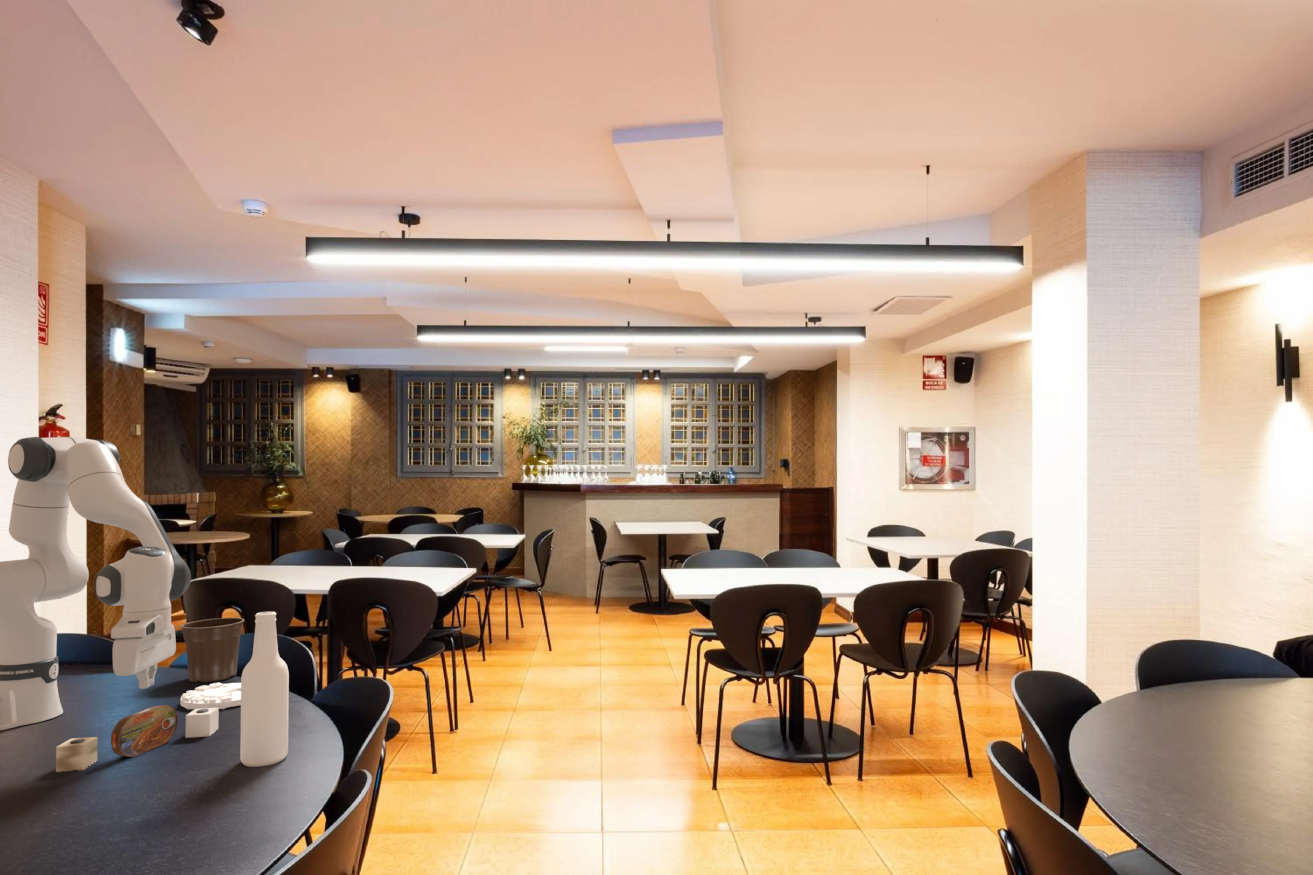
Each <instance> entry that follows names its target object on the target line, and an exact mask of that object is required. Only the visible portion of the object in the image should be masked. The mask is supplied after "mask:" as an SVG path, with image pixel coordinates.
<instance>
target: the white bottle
mask: <svg viewBox="0 0 1313 875" xmlns="http://www.w3.org/2000/svg"><path fill="white" fill-rule="evenodd" d="M254 617H255V620H254V623H255V626H254V627H255V628H254V638H253V646H252V647H253V648H252V655H251V658H250V660H249V661H248V663H247V664H246V665H245V667H244V668H243V670H242V673H241V677H240V683H241V705H240V743H239V744H240V751H239V753H240V756H239V758H240V762H241V763H242V764H243V765H244V766H245V767H249V768H259V767H260V768H261V767H265V766H271V765H274V764H277V763H281V762H282V761H283V760H285V758H286V757H287V755H288V753H289V706H290V705H289V704H290V703H289V699H290V697H289V694H290V692H289V691H290V690H289V689H290V688H289V687H290V686H289V685H290V684H289V683H290V679H289V678H290V674H289V668H288V664H287V663H286V661H285V660H283V658H281V657H280V654H279V649H278V648H279V646H278V637H277V636H278V635H277V623H276V622H277V618H276V617H277V612H276V611H260V612H257V613H256V614H254Z"/></svg>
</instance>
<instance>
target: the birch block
mask: <svg viewBox="0 0 1313 875" xmlns="http://www.w3.org/2000/svg"><path fill="white" fill-rule="evenodd" d="M98 738H99V737H98V736H93V737H91V736H89V737H76V738H72V737H71V738H69V739H68V740H66V741H64V742H63V743H61V744H59V745H57V746H56V747H55V772H56V773H62V771H63V772H74V771H73V770H78V771H85V770H86V769H87V768H89V767H90V766H92V765H93V764H95V763H96V761H97V762H98V746H99V744H98V743H99V742H98ZM94 762H95V763H94ZM91 764H92V765H91ZM88 766H89V767H88Z"/></svg>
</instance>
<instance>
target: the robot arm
mask: <svg viewBox="0 0 1313 875" xmlns="http://www.w3.org/2000/svg"><path fill="white" fill-rule="evenodd" d="M120 456H121V455H120V453H119V450H118V448H117V446H116V445H115V444H114V443H112V442H109V441H108V440H103V439H96V438H95V439H90V438H84V437H74V436H73V437H72V436H66V437H54V436H53V437H52V436H51V437H50V436H49V437H39V436H30V437H24V438H20V439H18V440H17V441H16V442H15V443H13V444H12V445H11V448H10V450H9V452H8V458H7V463H8V465H7V466H8V469H9V472H10V473H11V474H12V475H13V477H14V478H16V479H17V483H16V486H15V488H14V494H13V498H12V499H13V500H12V505H11V512H10V519H9V525H8V533H9V535H10V536H11V538H12V539H13V540H15V541H16V542H18V543H20V544H21V545H24V546H26V547H27V548H28V558H23V559H14V560H13V559H12V560H4V561H0V731H4V730H5V731H6V730H9V729H13V728H17V727H20V726H21V727H22V726H25V725H26V726H27V725H31V724H36V723H40V722H44V721H47V720H50V719H53V718H56V717H58V716H61V715H62V714H63V713H64V709H63V706H62V704H61V700H60V695H59V690H58V677H59V656H58V655H57V644H58V643H57V642H58V641H57V640H58V639H57V638H58V629H57V626H56V625H55V624H54V622H53V621H52V620H49V619H48V618H44V617H42V616H39V615H38V614H37V613H36V610H35V603H41V602H48V601H53V600H59V599H63V598H64V599H65V598H67V597H69V596H72V595H76V594H78V593H80V592H81V591H83V590H84V588H85V587H86V585H87V583H88V582H89V577H90V574H89V572H90V571H89V569H88V566H87V565H86V563H85V562H84V560H83V559H82V558H79V556H77V555H76V554H75V553H74V552H73V550H72V549H71V547H70V545H69V543H68V542H69V541H68V537H67V528H68V527H67V526H68V517H69V516H68V515H69V509H70V505H71V506H72V507H73V509H74V511H75V512H76V513H77V514H78V515H79V516H80V517H82V518H84V519H85V520H88V521H91V522H94V523H96V524H97V523H98V524H102V525H103V524H104V525H108V526H113V527H116V528H119V529H122V530H126V531H127V532H130V533H132V534H134V535H135V536H136V537H137V538H138V539H139V541H140V544H141V545H142V546H138V547H133V548H131V549H128V550H127V551H126V552H125V555H124V557H123V558H122V559H119V560H117V561H115V562H113V563H110V564H106V565H104V566H103V567H102V568H101V569H100V570H99V571H98V573H97V574H96V576H95V578H94V579H95V580H94V594H95V597H96V598H97V599H98V601H100V602H102V603H103V604H104V605H106V606H112V607H119V606H123V609H122V617H121V618H120V619H119V621H118V622H117V623H116V624H115V625H114V626H113V627H112V628H111V632H110V638H111V639H112V640H113V639H114V640H113V644H112V670H113V673H114V674H115V675H116V676H115V677H126V676H127V677H128V676H129V677H130V676H133V675H134V676H135V675H136V679H137V680H138V688H139V689H140V690H143V689H148V688H149V687H152V686H154V685H155V676H156V673H157V670H158V663H161V662H162V661H165V660H167V659H169V658H170V657H173V656H175V654H176V651H177V645H176V644H177V642H176V640H177V639H176V630H175V626H174V624H173V623H172V603H171V601H176V600H177V599H179V598H180V597H181V596H182V595H183V594H184V593H185V592H186V591H187V589H188V588H189V587H190V584H191V581H192V574H191V570H190V567H189V566H188V563H187V562H185V560H184V559H183V558H182V557H181V556H180V554H179V552H177V550H176V548H175V546H174V545H173V543H172V541H171V539H170V538H169V536H168V534H167V532H166V531H165V528H164V526H163V525H162V524H161V521H160V520H159V517H158V516H157V514H156V513H155V511H154V509H153V508H152V506H151V505H150V504H149V503H148V502H147V501H144V500H143V499H141V498H140V497H138V496H137V495H136V494H135V493H134V492H133V491H132V490H131V488H130V487H129V486H128V484H127V483H126V480H125V477H124V476H123V472H122V469H121V467H120V465H121V464H120V462H121V457H120Z"/></svg>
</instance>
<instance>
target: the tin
mask: <svg viewBox="0 0 1313 875" xmlns="http://www.w3.org/2000/svg"><path fill="white" fill-rule="evenodd" d="M178 718H179V716H178V713H177V711H176V709H175V708H174V707H173V706H172V705H170V704H169V705H168V704H163V705H154V706H151V707H148V708H146V709H144V710H142V711H137V712H136V713H133V714H130V715H127V716H125V717H123V718H121V719H120V720H119V721H118V722H117V723H116V724H115V725H114V727H113V729H112V731H111V734H110V735H111V736H110V744H111V745H110V746H111V750H112V752H113V753H114V754H115V755H117V756H118V757H123V758H124V757H125V758H126V757H127V758H134V757H137V756H139V755H142V754H144V753H146V752H149V751H151V750H153V749H156V748H158V747H160V746H163V745H165V744H167V743H168V742H169V741H170V740H172V738H173V737H174V735H175V733H176V731H177V727H178V722H179V719H178Z"/></svg>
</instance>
